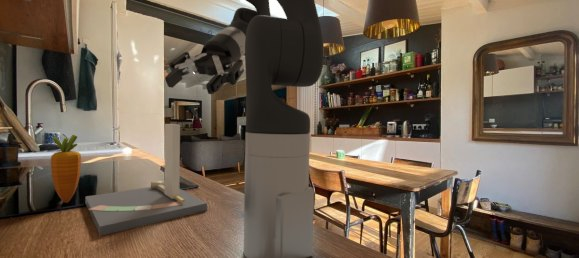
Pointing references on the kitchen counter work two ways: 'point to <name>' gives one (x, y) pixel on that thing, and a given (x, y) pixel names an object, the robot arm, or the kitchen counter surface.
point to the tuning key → (171, 163)
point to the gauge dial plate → (138, 208)
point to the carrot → (66, 168)
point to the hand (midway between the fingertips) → (188, 86)
